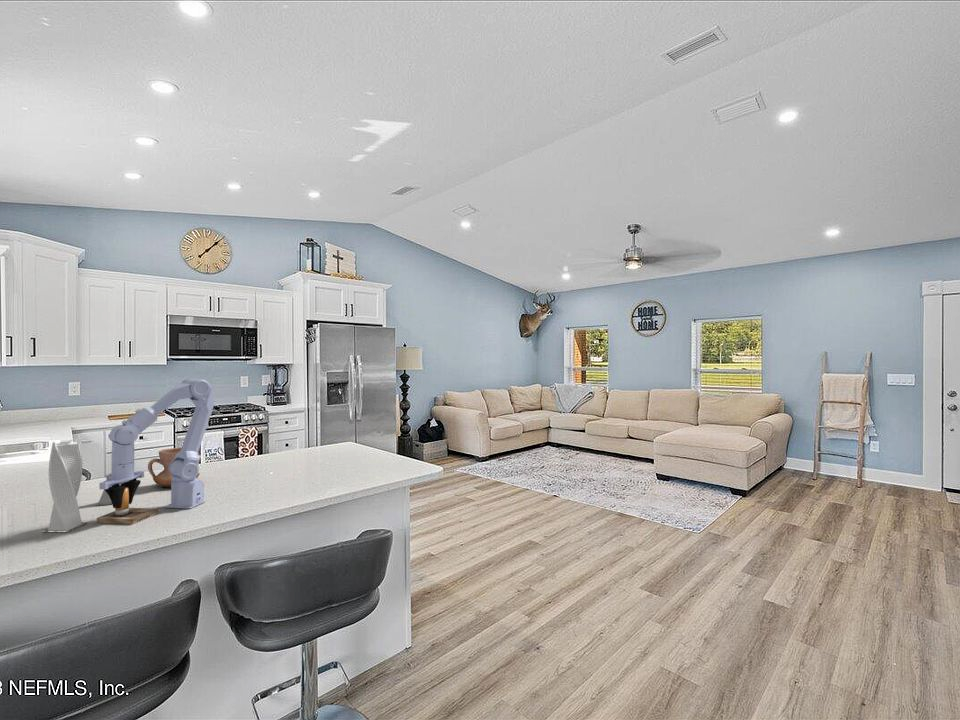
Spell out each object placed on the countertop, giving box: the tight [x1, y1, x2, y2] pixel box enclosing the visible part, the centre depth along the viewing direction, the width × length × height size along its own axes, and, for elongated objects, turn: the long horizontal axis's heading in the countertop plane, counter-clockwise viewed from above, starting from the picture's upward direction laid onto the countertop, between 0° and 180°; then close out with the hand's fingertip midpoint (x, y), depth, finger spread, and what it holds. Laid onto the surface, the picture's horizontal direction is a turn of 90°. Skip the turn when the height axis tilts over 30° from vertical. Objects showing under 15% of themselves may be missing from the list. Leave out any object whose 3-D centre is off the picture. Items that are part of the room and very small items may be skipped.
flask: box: [97, 472, 112, 506], centre depth 162 cm, size 7×7×10 cm
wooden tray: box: [96, 507, 159, 525], centre depth 147 cm, size 12×10×2 cm
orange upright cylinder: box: [114, 487, 130, 515], centre depth 146 cm, size 3×3×8 cm
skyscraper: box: [43, 434, 88, 533], centre depth 137 cm, size 8×8×28 cm
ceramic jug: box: [147, 446, 202, 488], centre depth 185 cm, size 18×14×14 cm
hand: (122, 505), depth 146 cm, fingers closed on orange upright cylinder, 3 cm apart
